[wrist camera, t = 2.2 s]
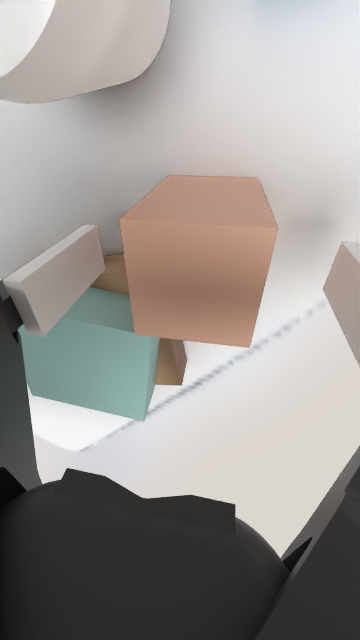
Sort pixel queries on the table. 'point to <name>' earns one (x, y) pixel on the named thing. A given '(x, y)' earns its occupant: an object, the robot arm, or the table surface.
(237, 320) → the tall block
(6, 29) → the cup
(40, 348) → the block top
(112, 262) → the block bottom
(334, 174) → the table surface
